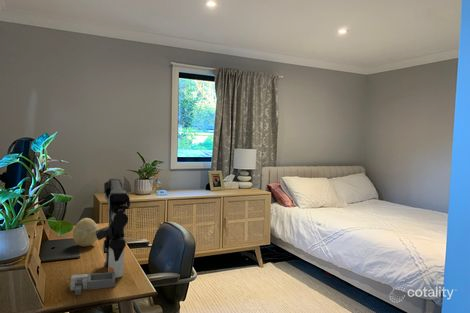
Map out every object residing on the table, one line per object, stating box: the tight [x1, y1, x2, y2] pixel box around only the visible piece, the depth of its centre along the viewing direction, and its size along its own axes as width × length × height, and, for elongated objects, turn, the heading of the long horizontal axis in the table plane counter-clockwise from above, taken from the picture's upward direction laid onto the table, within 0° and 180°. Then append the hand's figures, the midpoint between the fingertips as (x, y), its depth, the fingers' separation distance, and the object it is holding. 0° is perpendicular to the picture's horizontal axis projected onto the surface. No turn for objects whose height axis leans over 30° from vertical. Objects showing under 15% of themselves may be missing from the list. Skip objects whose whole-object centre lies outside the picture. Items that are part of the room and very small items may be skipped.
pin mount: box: [69, 273, 89, 292], centre depth 132 cm, size 6×6×4 cm
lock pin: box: [74, 280, 83, 296], centre depth 131 cm, size 11×2×3 cm, turn 21°
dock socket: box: [86, 271, 116, 291], centre depth 136 cm, size 8×10×3 cm
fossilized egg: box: [72, 217, 99, 248], centre depth 181 cm, size 13×13×15 cm
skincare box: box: [107, 247, 125, 279], centre depth 145 cm, size 6×4×12 cm
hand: (116, 257), depth 145 cm, fingers open, 9 cm apart
